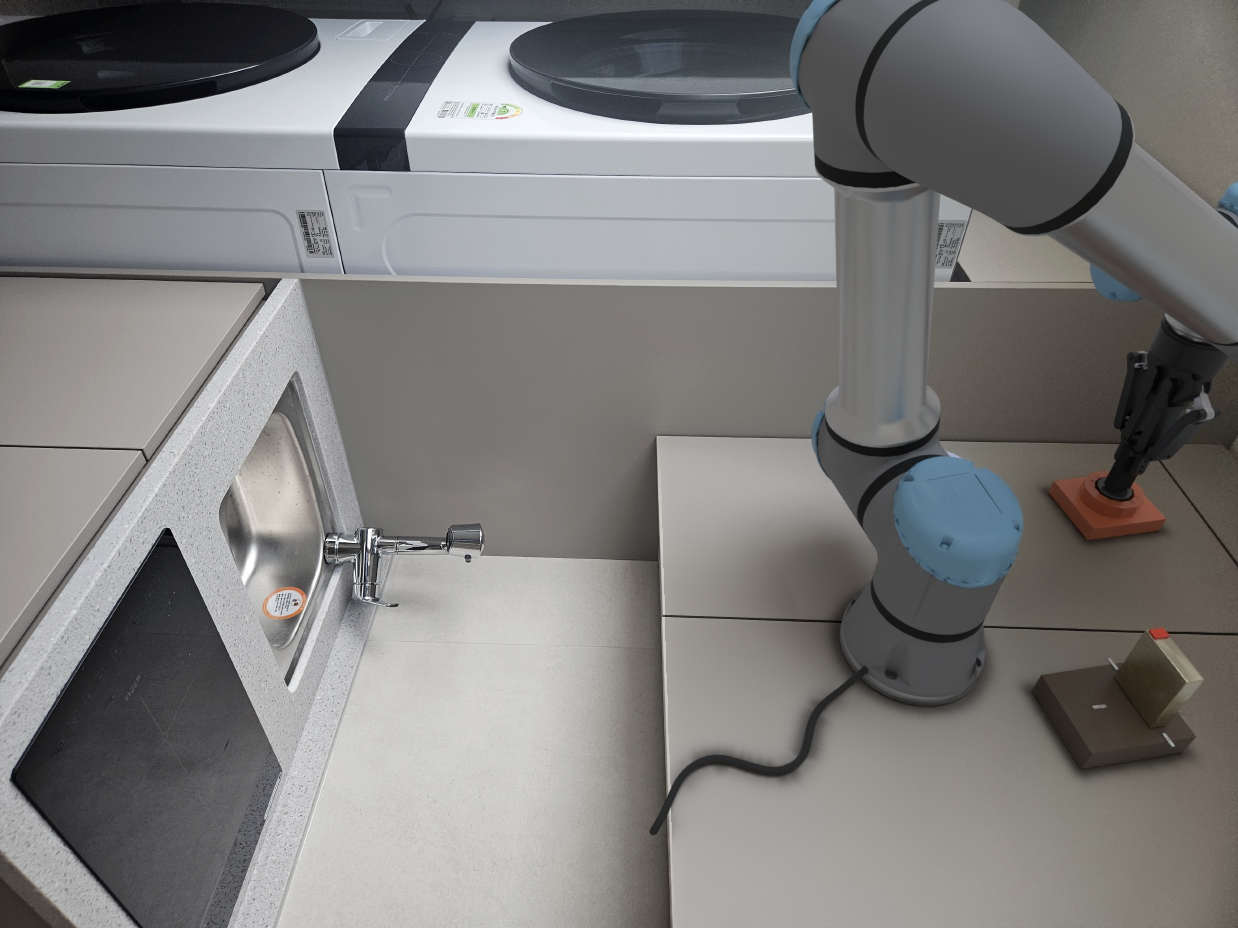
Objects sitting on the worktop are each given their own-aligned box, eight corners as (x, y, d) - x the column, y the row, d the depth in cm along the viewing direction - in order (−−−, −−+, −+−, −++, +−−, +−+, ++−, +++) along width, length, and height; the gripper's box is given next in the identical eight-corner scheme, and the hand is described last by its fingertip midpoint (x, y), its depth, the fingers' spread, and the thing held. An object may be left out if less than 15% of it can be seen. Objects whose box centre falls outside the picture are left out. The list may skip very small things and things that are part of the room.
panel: (1084, 775, 79) (1096, 758, 77) (1028, 685, 86) (1038, 668, 84) (1206, 754, 80) (1221, 738, 78) (1141, 668, 88) (1153, 651, 86)
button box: (1087, 540, 102) (1099, 518, 99) (1048, 492, 109) (1058, 470, 106) (1159, 530, 103) (1173, 508, 100) (1116, 483, 110) (1128, 461, 107)
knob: (1167, 725, 79) (1206, 678, 74) (1150, 728, 79) (1188, 680, 73) (1129, 674, 84) (1163, 625, 78) (1113, 676, 83) (1146, 628, 78)
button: (1104, 510, 102) (1110, 500, 101) (1086, 488, 105) (1091, 479, 104) (1133, 506, 103) (1139, 496, 102) (1114, 485, 106) (1119, 475, 105)
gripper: (1279, 356, 83) (1177, 518, 98) (1192, 294, 92) (1112, 450, 108) (1212, 364, 82) (1121, 525, 98) (1132, 300, 92) (1060, 456, 107)
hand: (1116, 485), depth 103 cm, fingers closed
